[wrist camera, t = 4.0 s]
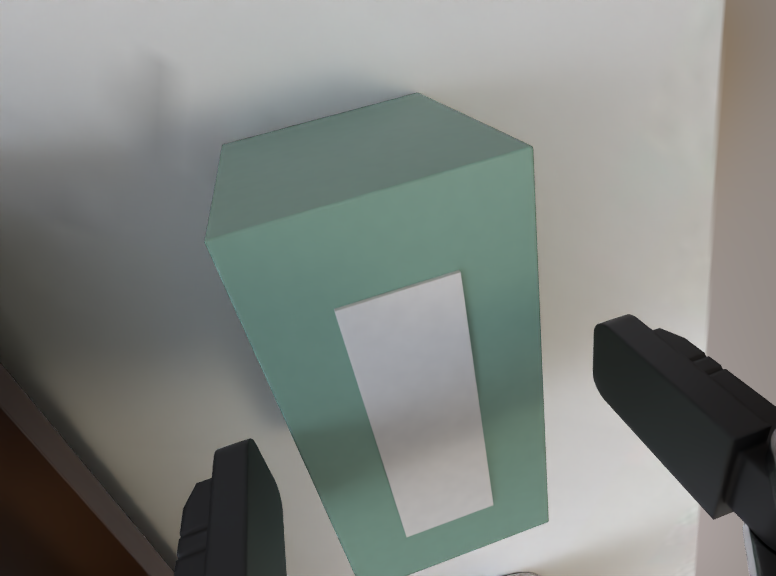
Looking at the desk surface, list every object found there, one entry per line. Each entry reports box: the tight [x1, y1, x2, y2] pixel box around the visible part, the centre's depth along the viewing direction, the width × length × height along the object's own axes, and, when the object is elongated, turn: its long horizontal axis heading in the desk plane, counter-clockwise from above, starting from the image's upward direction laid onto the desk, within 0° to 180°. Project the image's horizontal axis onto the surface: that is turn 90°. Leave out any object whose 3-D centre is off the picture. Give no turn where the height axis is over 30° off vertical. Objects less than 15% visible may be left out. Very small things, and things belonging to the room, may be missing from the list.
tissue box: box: [205, 93, 549, 576], centre depth 13 cm, size 6×11×7 cm, turn 12°
